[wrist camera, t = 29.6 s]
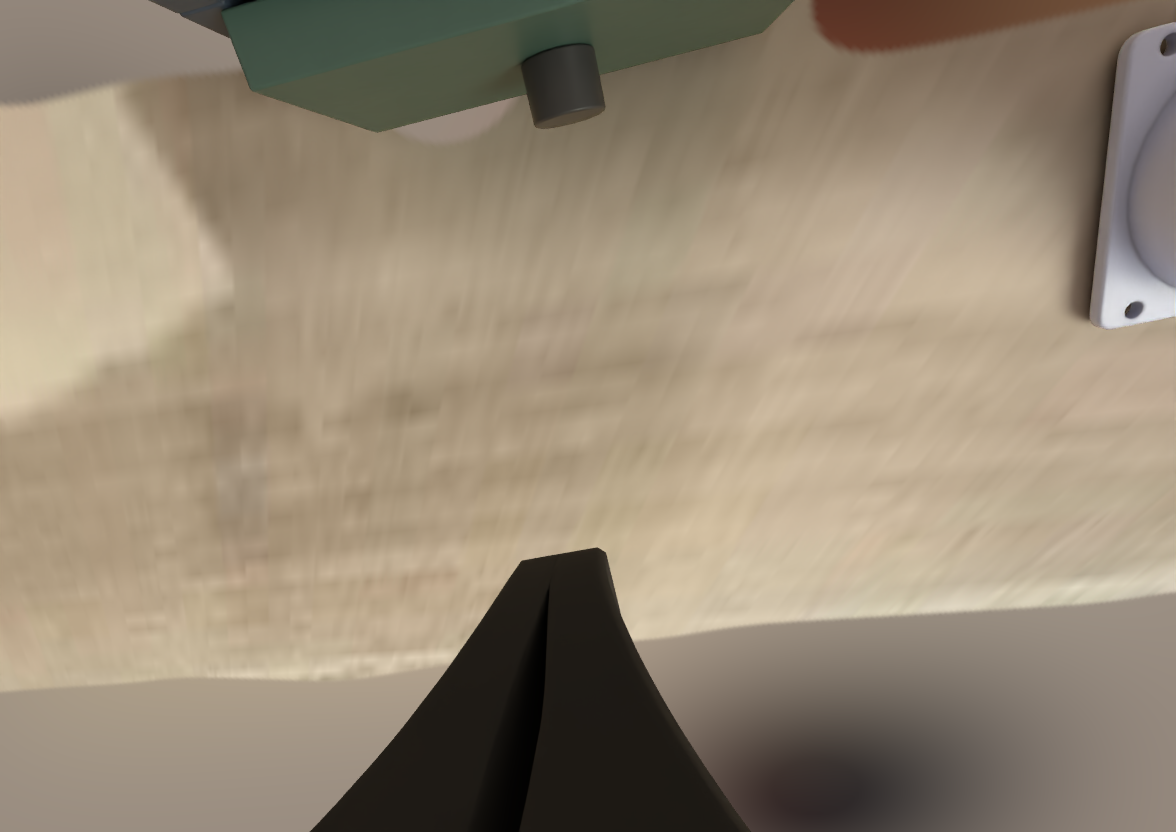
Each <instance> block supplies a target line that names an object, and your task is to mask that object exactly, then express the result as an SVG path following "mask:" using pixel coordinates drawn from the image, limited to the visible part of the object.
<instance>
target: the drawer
mask: <svg viewBox="0 0 1176 832" xmlns="http://www.w3.org/2000/svg"><path fill="white" fill-rule="evenodd" d="M793 1H794V0H255V1H251V2H248V3H244V4H241V5H237V6H234V7H231V8H227V9H224V10H222V11H221V15H222V18H223V21H224V23H225V26H226V28H227V31H228V33H229V36H230V38H231V40H232V44H233V46H234V49H235V51H236V54H237V56H238V59H239V62H240V64H241V67H242V69H243V72H244V74H245V77H246V80H247V82H248V85H249V87H250V89H251V90H252V91H253V92H256V93H259V94H262V95H265V96H268V97H271V98H274V99H277V100H280V101H283V102H286V103H289V104H292V105H295V106H298V107H301V108H304V109H307V110H310V111H313V112H316V113H319V114H322V115H325V116H328V117H331V118H334V119H337V120H340V121H343V122H346V123H349V124H352V125H355V126H358V127H361V128H364V129H367V130H370V131H373V132H377V133H378V132H382V131H385V130H389V129H393V128H397V127H401V126H405V125H409V124H412V123H416V122H420V121H424V120H428V119H432V118H436V117H439V116H443V115H447V114H451V113H455V112H459V111H463V110H466V109H470V108H474V107H478V106H481V105H486V104H489V103H493V102H497V101H501V100H505V99H509V98H513V97H516V96H520V95H524V94H527V96H528V100H529V105H530V109H531V113H532V118H533V122H534V125H535V127H536V128H541V129H545V128H554V127H560V126H565V125H569V124H573V123H577V122H580V121H583V120H586V119H589V118H592V117H594V116H597V115H599V114H600V113H602V112H603V111H604V110H605V102H604V97H603V91H602V86H601V81H600V75H601V74H605V73H609V72H613V71H617V70H620V69H624V68H628V67H632V66H636V65H640V64H644V63H647V62H651V61H655V60H659V59H663V58H667V57H671V56H674V55H678V54H682V53H686V52H690V51H694V50H698V49H701V48H705V47H709V46H713V45H717V44H721V43H724V42H728V41H732V40H736V39H740V38H744V37H748V36H751V35H755V34H759V33H762V32H764V31H765V30H766V29H767V28H768V27H769V26H770V25H771V24H772V23H773V22H774V21H775V20H776V19H777V18H778V17H779V16H780V15H781V14H782V13H783V12H784V11H785V10H786V8H787V7H788V6H789V5H790V4H791V3H792V2H793Z"/></svg>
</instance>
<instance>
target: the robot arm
mask: <svg viewBox="0 0 1176 832" xmlns="http://www.w3.org/2000/svg"><path fill="white" fill-rule="evenodd" d="M1163 39H1165V40H1166V42H1167V47H1166V50H1165V52H1164V54H1163V55H1162V54H1161V52H1160V46H1161V43H1162V41H1163ZM1130 303H1131V308H1130V310H1129V311H1128V312H1127V313H1126V314H1125V310H1126V307H1127V306H1128V305H1129V304H1130ZM1089 316H1090V321H1091V323H1092V324H1093V325H1094V326H1096V327H1099V328H1103V329H1116V328H1121V327H1126V326H1131V325H1136V324H1141V323H1146V322H1151V321H1156V320H1161V319H1166V318H1171V317H1176V22H1173V23H1169V24H1164V25H1160V26H1156V27H1152V28H1149V29H1146V30H1143V31H1140V32H1137V33H1135V34H1133V35H1132V36H1131V37H1129V38H1128V39H1127V40H1126V41H1125V42H1124V44H1123V46H1122V47H1121V49H1120V52H1119V55H1118V60H1117V69H1116V78H1115V88H1114V97H1113V106H1112V115H1111V124H1110V133H1109V142H1108V151H1107V160H1106V169H1105V178H1104V187H1103V196H1102V205H1101V214H1100V223H1099V232H1098V241H1097V250H1096V259H1095V269H1094V278H1093V287H1092V296H1091V305H1090V314H1089ZM310 832H751V831H750V830H749V828H748V827H747V826H746V824H745V823H744V822H743V820H742V819H741V818H740V816H739V815H738V814H737V812H736V811H735V809H734V808H733V807H732V805H731V804H730V803H729V801H728V799H727V798H726V796H725V795H724V794H723V792H722V791H721V789H720V788H719V786H718V785H717V783H716V782H715V780H714V779H713V777H712V776H711V775H710V773H709V772H708V770H707V769H706V767H705V766H704V764H703V763H702V761H701V760H700V758H699V757H698V755H697V754H696V752H695V750H694V749H693V748H692V746H691V744H690V743H689V741H688V739H687V738H686V737H685V735H684V733H683V732H682V730H681V729H680V727H679V725H678V724H677V722H676V720H675V719H674V717H673V715H672V714H671V712H670V710H669V709H668V707H667V705H666V703H665V702H664V700H663V698H662V697H661V695H660V693H659V691H658V689H657V687H656V686H655V684H654V682H653V680H652V678H651V677H650V675H649V673H648V671H647V669H646V667H645V665H644V663H643V662H642V660H641V658H640V656H639V654H638V652H637V650H636V648H635V645H634V643H633V641H632V639H631V637H630V634H629V632H628V630H627V628H626V626H625V623H624V621H623V619H622V617H621V613H620V609H619V605H618V601H617V597H616V592H615V588H614V584H613V580H612V576H611V572H610V568H609V564H608V559H607V555H606V552H604V551H602V550H601V549H599V548H598V547H597V548H591V549H586V550H580V551H574V552H569V553H563V554H557V555H551V556H546V557H540V558H534V559H529V560H523V561H521V562H520V564H519V565H518V567H517V568H516V569H515V571H514V572H513V574H512V575H511V577H510V578H509V580H508V581H507V583H506V584H505V586H504V587H503V589H502V590H501V592H500V593H499V595H498V596H497V598H496V599H495V601H494V602H493V604H492V605H491V607H490V608H489V610H488V611H487V613H486V614H485V616H484V617H483V619H482V620H481V622H480V623H479V625H478V626H477V628H476V629H475V631H474V632H473V633H472V635H471V636H470V638H469V639H468V641H467V642H466V643H465V645H464V646H463V648H462V649H461V650H460V652H459V653H458V655H457V656H456V658H455V659H454V660H453V662H452V663H451V665H450V666H449V668H448V669H447V670H446V672H445V673H444V674H443V676H442V677H441V678H440V680H439V681H438V682H437V684H436V685H435V686H434V688H433V689H432V690H431V691H430V693H429V694H428V695H427V697H426V698H425V699H424V701H423V702H422V703H421V704H420V706H419V707H418V709H417V710H416V711H415V712H414V714H413V715H412V716H411V717H410V719H409V720H408V721H407V723H406V724H405V725H404V727H403V728H402V729H401V730H400V732H399V733H398V734H397V735H396V736H395V737H394V739H393V740H392V741H391V742H390V743H389V745H388V746H387V747H386V748H385V749H384V751H383V752H382V753H381V754H380V755H379V756H378V758H377V759H376V760H375V761H374V762H373V763H372V765H371V766H370V767H369V768H368V769H367V770H366V771H365V772H364V773H363V775H362V776H361V777H360V778H359V779H358V780H357V781H356V783H354V785H353V786H352V787H351V788H350V789H349V790H348V791H347V792H346V794H345V795H344V796H343V797H342V798H341V799H340V800H339V801H338V803H337V804H336V805H335V806H334V807H333V808H332V809H331V810H330V811H329V812H328V813H327V814H326V815H325V817H324V818H323V819H322V820H321V821H320V822H319V823H318V824H317V825H316V826H315V827H314V828H313V829H312V830H311V831H310Z"/></svg>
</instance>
